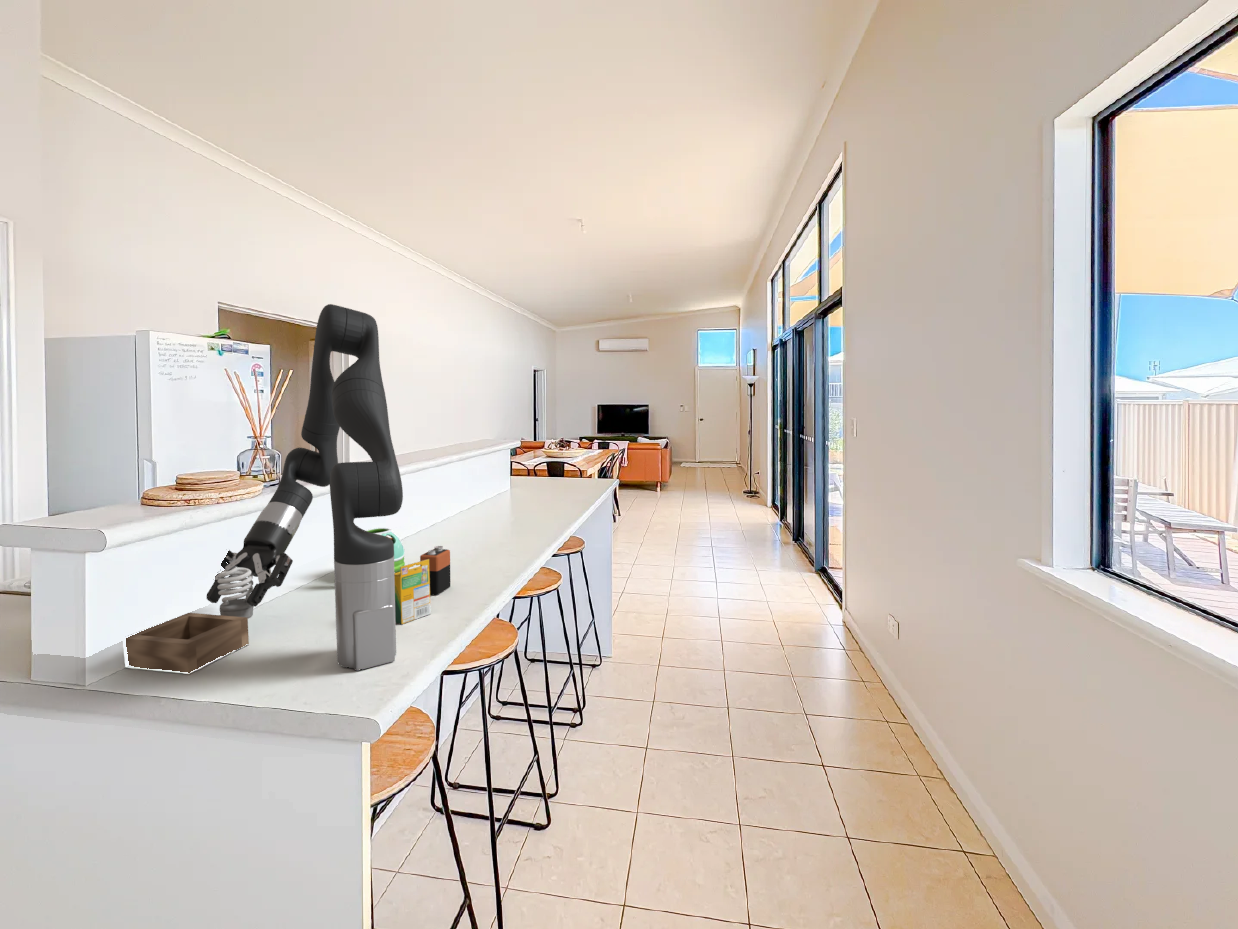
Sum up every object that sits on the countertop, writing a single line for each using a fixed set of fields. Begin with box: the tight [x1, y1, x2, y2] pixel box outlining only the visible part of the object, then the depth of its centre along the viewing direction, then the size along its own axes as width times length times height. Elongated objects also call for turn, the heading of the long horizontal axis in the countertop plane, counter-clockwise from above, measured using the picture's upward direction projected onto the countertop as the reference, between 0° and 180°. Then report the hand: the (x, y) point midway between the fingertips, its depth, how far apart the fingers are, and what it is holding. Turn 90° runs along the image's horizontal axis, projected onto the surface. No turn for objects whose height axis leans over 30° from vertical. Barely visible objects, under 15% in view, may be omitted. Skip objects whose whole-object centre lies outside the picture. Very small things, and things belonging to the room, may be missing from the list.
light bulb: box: [217, 567, 254, 620], centre depth 111 cm, size 6×6×12 cm
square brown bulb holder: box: [126, 612, 250, 673], centre depth 99 cm, size 12×12×5 cm
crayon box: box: [394, 559, 432, 625], centre depth 119 cm, size 7×3×12 cm, turn 148°
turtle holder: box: [365, 527, 406, 573], centre depth 144 cm, size 12×18×12 cm
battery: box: [419, 545, 451, 596], centre depth 136 cm, size 4×7×10 cm, turn 170°
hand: (230, 603), depth 109 cm, fingers open, 8 cm apart
